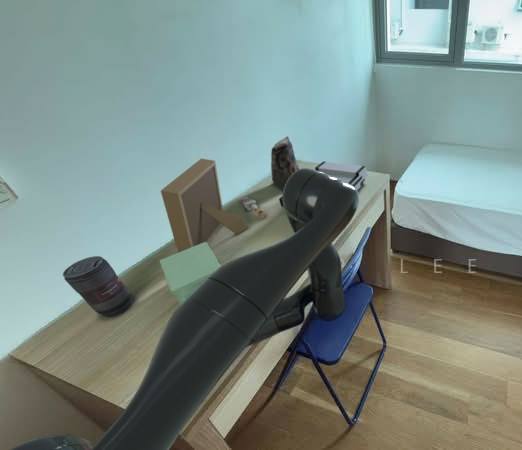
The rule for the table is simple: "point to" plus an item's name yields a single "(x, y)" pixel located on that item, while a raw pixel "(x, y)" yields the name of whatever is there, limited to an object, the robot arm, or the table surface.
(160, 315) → the table surface
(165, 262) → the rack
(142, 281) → the table surface
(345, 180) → the game console
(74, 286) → the camera lens
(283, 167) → the owl
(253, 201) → the paintbrush
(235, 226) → the photo frame
